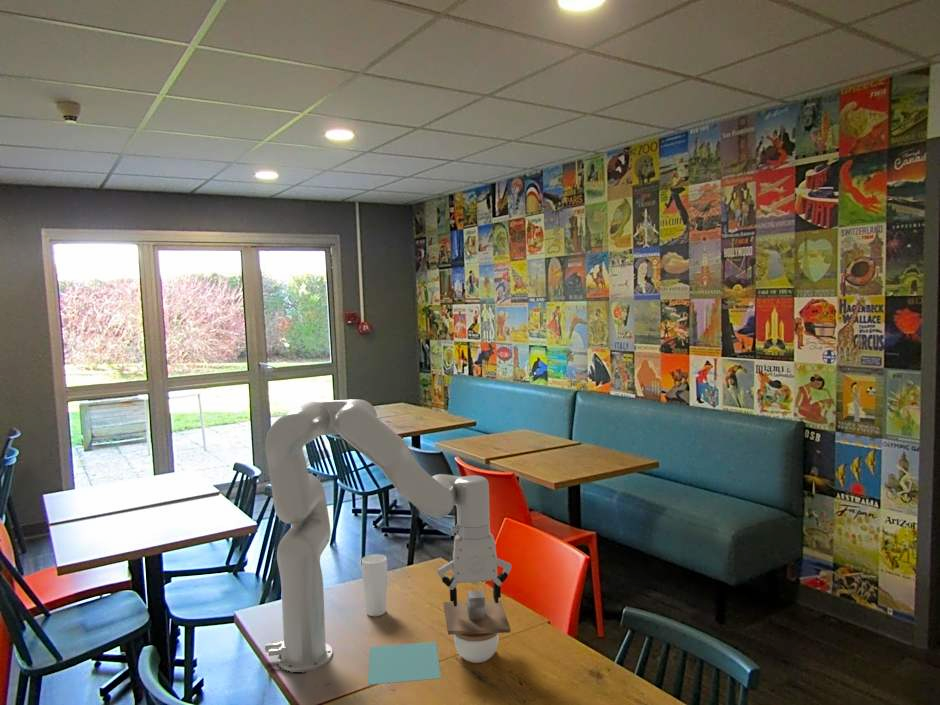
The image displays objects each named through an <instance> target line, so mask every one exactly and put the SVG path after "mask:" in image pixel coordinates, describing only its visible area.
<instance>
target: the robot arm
mask: <svg viewBox="0 0 940 705" xmlns="http://www.w3.org/2000/svg"><path fill="white" fill-rule="evenodd" d="M377 416H378V414H377V411H376V408H375V407H374V405H372V403H371V402H369V401H367V400H364V399H359V398H358V399H357V398H356V399H355V398H354V399H340V400H339V399H338V400H337V399H335V400H316V401H315V400H313V401H309V402H306V403H303V404H301V405H299V406H297V407H294V408H292V409H290V410H289V411H287V412H286V413H284V414H283V415H281V416H280V417H279V418H278V419H277V420H276V421H275V422H274V423H273V424H272V425H271V427H270V428H269V429H268V432H267V435H266V437H265V447H264V448H265V454H266V455H265V456H266V459H267V468H268V472H269V481H270V488H271V494H272V502H273V506H274V507H273V508H274V510H275V514H276V515H277V517H278V519H279V520H281V522H283V523H285V524H288V525H291V527H290V528H289V529H288V531H287V532H286V533H285V534H284V535H283V537H282V538H281V540H279V543H278V546H277V550H276V551H277V552H276V561H277V567H278V572H279V577H280V587H281V588H280V590H281V604H282V606H281V608H282V629H283V632H282V633H283V640H279V642H268V643H267V642H266V643H265V645H264V652H265V653H268V656H269V657H274V656H277V665H278V664H279V665H278V667H279V666H280V667H281V668H282V670H283V669H284V670H283V671H285V670H287V671H286V672H288V671H290V672H289V673H293V672H302V673H307V672H309V671H313V670H316V669H318V668H321V667H323V666H325V665H326V664H327V663H329V661H331V660H332V658H333V655H334V653H333V652H334V651H333V650H334V649H333V647H332V646H331V645H330V644H329V643H326V621H325V620H326V618H325V616H326V615H325V599H324V597H325V596H324V582H323V581H324V580H323V579H324V578H323V573H322V566H321V556H322V553H323V552H324V550H325V549H326V547H327V546H328V545H329V542H330V539H331V532H332V531H331V523H330V517H329V511H328V504H327V498H326V493H325V488H324V486H323V484H322V482H321V480H320V479H319V478H317V477H318V476H315V475H313V474H312V473H308V465H307V459H306V456H305V454H304V447H305V445H307V444H309V443H310V442H312V441H314V440H315V439H318V438H319V437H320V436H329V435H339V436H340V437H341V438H342V439H344V440H345V442H347V443H348V444H349V445H351V447H353V448H354V449H356V451H358V452H359V453H361V454H362V455H363V456H364V457H365V458H367V460H369V461H370V462H371V463H372V464H374V465H375V466H376V467H378V468H379V470H380V471H381V472H382V473H383V474H384V476H385V477H386V479H387V480H389V482H390V483H391V484H392V485H393V487H394V488H395V489H396V490H397V491H398V492H399V493H400V494H401V496H403V497H404V498H405V499H406V500H407V501H409V502H410V503H411V504H412V505H413V506H414V507H415V508H417V509H418V510H420V511H421V512H422V513H424V514H425V515H427V516H429V517H430V518H436V519H439V518H443V517H446V516H447V515H449V514H450V513H451V512H452V510H453V508H454V506H455V507H456V524H455V525H454V526H451V527H450V530H451V531H450V533H455V536H454V538H453V539H454V541H453V546H452V548H453V549H452V560H451V561H449V562H446V563H445V564H443V565H442V566H440V567H438V568H437V570H436V571H437V574H438V576H439V578H440V579H441V582H442V583H443V584H444V585H446V586H447V587H448V589H449V602H453V604H454V606H457V602H458V597H457V596H458V595H457V594H458V593H457V591H458V590H457V585H458V584H460V583H461V584H463V583H466V584H467V583H477V582H478V583H479V582H489V581H490V582H491V581H493V582H492V586H493V587H492V592H493V594H492V595H493V596H492V597H493V601H495V603H498V601H499V599H501V596H502V595H501V594H502V593H501V586H502V585H503V583H504V582H505V581H506V580H507V579H508V577H509V574H510V572H511V570H512V567H513V566H512V564H511V563H510V562H508V561H505V560H503V559H500V558H499V557H498V556H497V548H496V542H495V536H494V535H493V534H492V533H491V526H490V524H491V523H490V522H491V520H490V518H491V517H490V485H489V484H490V483H489V481H488V479H487V478H486V477H484V476H482V475H476V474H475V475H465V476H462V475H461V476H459V475H452V474H446V473H445V474H443V473H439V474H438V473H437V474H434V475H431V474H429V473H428V472H427V471H426V470H425V469H424V468H423V467H422V466H421V465H420V464H419V463H418V462H417V460H416V459H415V457H414V456H413V453H412V452H411V450H410V447H409V445H408V443H407V442H406V441H405V440H404V439H403V438H402V437H401V436H400V435H399V434H398V433H396V432H395V431H394V430H393V429H392V428H390V427H389V426H388V425H387V424H385V422H383V421H382V420H380V419H379V418H378V417H377ZM498 567H500V568H503V570H502V571H501V572H500V573H499V575H498ZM451 570H452V572H453V575H452V576H451V578H449V577H448V576H447V575H446V573H447V572H448V571H451ZM280 667H279V668H280ZM281 668H280V669H281Z"/></svg>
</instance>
